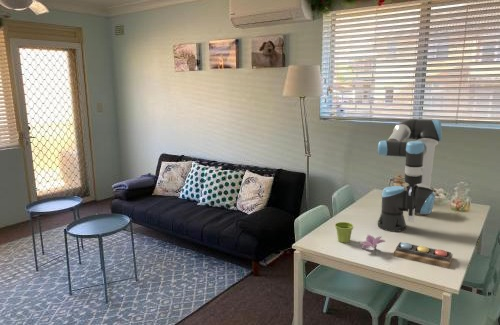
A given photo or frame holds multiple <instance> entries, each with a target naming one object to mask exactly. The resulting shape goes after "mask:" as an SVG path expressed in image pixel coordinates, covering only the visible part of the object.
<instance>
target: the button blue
mask: <svg viewBox="0 0 500 325" xmlns="http://www.w3.org/2000/svg"><path fill="white" fill-rule="evenodd" d="M411 244H412V243H408V242H402V243H401V248H404V249H409V250H411V249H412V245H413V244H412V245H411Z"/></svg>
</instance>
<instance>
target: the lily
mask: <svg viewBox="0 0 500 325" xmlns="http://www.w3.org/2000/svg"><path fill="white" fill-rule="evenodd" d="M382 237H383V236H377V237H374V236H373V235H370V234H367V235H366V238H365V239H366V240H365V241H361V242H359V244H361V245H362V246H361V249H366V248H368V247H371V248H373V252H374V256H376V255H377V254H376V251H375V249H377V247H378V245H379V244H380V243H381V244H382V243H385V242H386V240H385V239H382Z"/></svg>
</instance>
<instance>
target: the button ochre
mask: <svg viewBox="0 0 500 325" xmlns="http://www.w3.org/2000/svg"><path fill="white" fill-rule="evenodd" d="M417 246H418V247H417V251H419V252H423V253H429V248H430V247H428V246H424V245H417Z"/></svg>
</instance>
